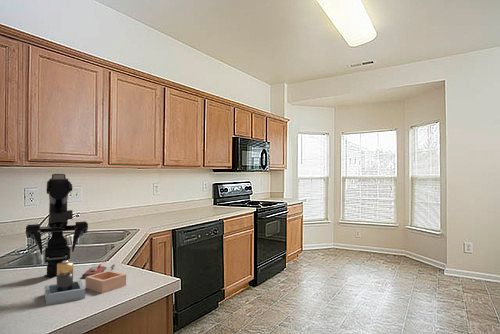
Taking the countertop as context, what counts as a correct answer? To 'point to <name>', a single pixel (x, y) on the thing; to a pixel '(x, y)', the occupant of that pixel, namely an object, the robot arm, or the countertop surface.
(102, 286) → the bin
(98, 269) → the walkie-talkie
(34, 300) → the countertop surface
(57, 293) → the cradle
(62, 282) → the cell
